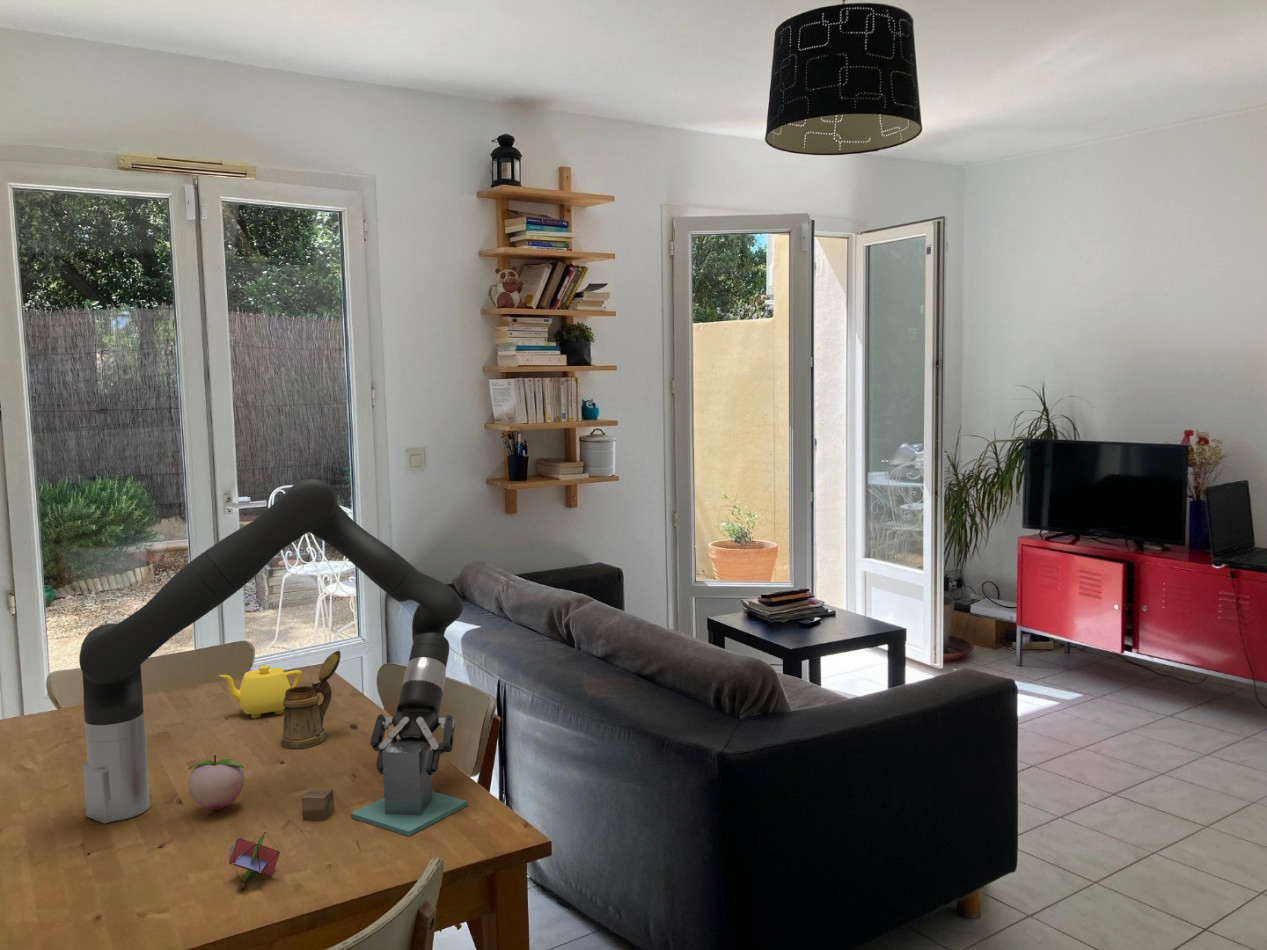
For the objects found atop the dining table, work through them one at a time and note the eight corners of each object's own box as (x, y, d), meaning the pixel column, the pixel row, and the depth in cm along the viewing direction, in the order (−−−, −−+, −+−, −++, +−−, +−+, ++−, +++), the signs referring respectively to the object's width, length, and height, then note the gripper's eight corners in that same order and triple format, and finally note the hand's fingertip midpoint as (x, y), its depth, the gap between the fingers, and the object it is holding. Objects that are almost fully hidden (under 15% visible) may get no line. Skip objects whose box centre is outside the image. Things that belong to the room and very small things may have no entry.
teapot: (223, 725, 221) (220, 678, 220) (219, 711, 231) (216, 666, 230) (307, 712, 229) (305, 667, 228) (300, 699, 239) (298, 655, 238)
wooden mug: (352, 736, 212) (348, 654, 211) (289, 752, 204) (284, 666, 202) (336, 726, 219) (332, 646, 218) (274, 740, 211) (270, 657, 209)
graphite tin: (421, 815, 170) (418, 752, 169) (385, 814, 171) (382, 752, 170) (432, 799, 177) (429, 739, 176) (397, 799, 177) (394, 738, 176)
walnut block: (325, 820, 171) (324, 798, 171) (302, 820, 171) (301, 797, 171) (334, 810, 175) (333, 788, 175) (312, 810, 175) (311, 788, 175)
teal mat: (409, 836, 164) (408, 831, 164) (351, 817, 172) (350, 813, 172) (467, 805, 176) (467, 801, 176) (410, 789, 183) (410, 785, 183)
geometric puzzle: (297, 852, 155) (263, 813, 154) (282, 873, 148) (247, 833, 147) (261, 880, 155) (227, 842, 154) (245, 903, 148) (210, 863, 147)
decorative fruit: (185, 824, 171) (181, 767, 170) (193, 805, 179) (189, 751, 178) (243, 816, 173) (240, 760, 172) (248, 798, 181) (245, 744, 180)
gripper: (379, 678, 180) (359, 763, 169) (456, 678, 179) (441, 764, 168) (390, 697, 186) (371, 781, 175) (465, 698, 184) (450, 782, 174)
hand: (405, 773), depth 172 cm, fingers open, 8 cm apart
